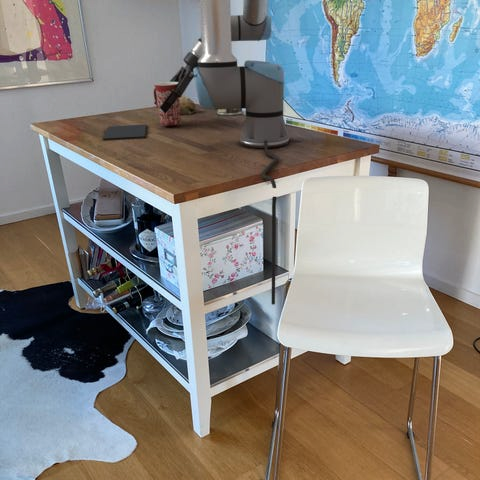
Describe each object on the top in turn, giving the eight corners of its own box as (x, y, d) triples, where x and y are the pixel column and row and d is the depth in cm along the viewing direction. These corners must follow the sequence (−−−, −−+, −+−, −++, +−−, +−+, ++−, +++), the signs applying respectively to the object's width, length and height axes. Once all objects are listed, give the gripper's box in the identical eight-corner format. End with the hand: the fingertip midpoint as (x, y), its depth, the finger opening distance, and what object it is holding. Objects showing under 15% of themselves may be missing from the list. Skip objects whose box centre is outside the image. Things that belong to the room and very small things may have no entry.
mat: (145, 138, 175) (145, 136, 174) (103, 140, 173) (102, 138, 173) (146, 126, 192) (146, 124, 191) (108, 128, 190) (108, 126, 190)
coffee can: (245, 111, 213) (245, 73, 205) (237, 115, 204) (236, 76, 197) (222, 110, 216) (220, 73, 208) (213, 114, 207) (211, 76, 200)
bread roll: (181, 124, 210) (187, 106, 205) (163, 111, 212) (168, 92, 207) (196, 120, 217) (202, 102, 212) (178, 107, 219) (183, 89, 214)
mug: (187, 123, 189) (184, 82, 182) (166, 126, 184) (162, 85, 177) (169, 119, 197) (165, 80, 191) (148, 122, 193) (144, 82, 186)
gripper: (214, 69, 175) (173, 120, 180) (197, 63, 195) (161, 110, 199) (197, 52, 171) (156, 105, 176) (183, 48, 191) (146, 96, 195)
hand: (159, 108), depth 188 cm, fingers closed on mug, 12 cm apart
